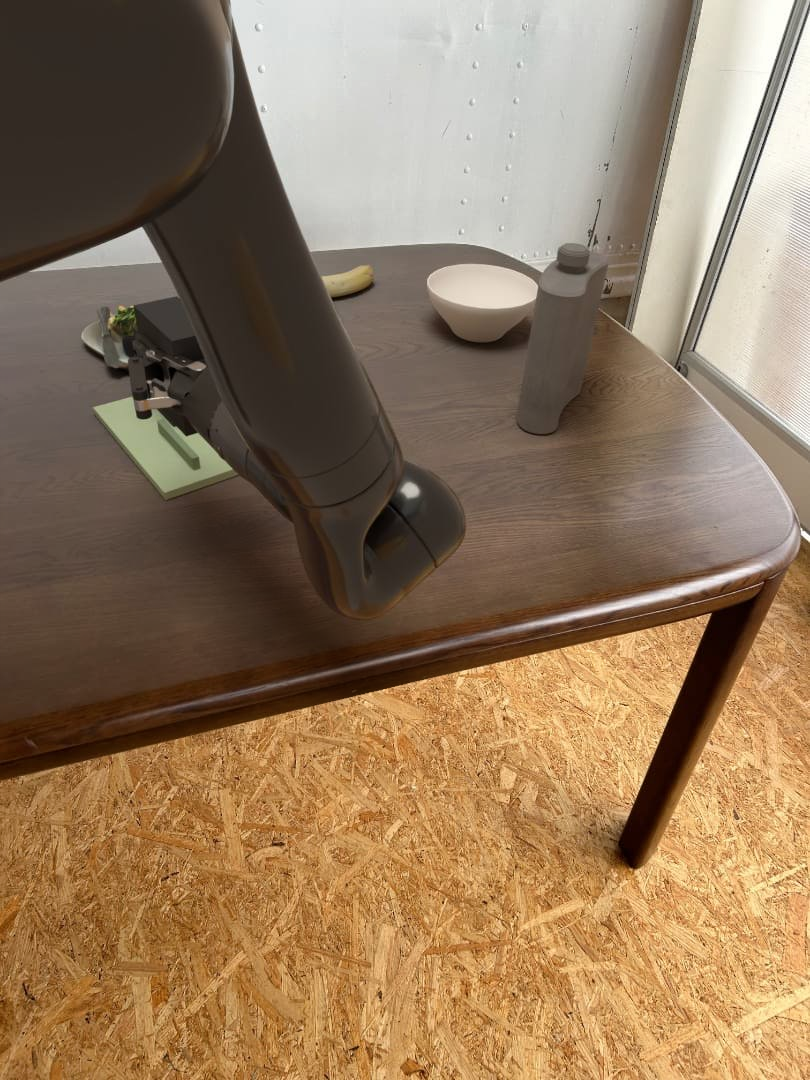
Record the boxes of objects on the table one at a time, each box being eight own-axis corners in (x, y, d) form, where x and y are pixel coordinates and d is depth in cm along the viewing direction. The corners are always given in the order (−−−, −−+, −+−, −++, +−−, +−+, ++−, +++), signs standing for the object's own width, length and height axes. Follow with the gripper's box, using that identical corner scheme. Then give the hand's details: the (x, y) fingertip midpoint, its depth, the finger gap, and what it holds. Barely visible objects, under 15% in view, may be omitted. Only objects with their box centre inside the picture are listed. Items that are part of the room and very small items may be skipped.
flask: (543, 375, 106) (570, 224, 93) (584, 386, 104) (618, 233, 91) (504, 426, 95) (530, 263, 82) (550, 439, 94) (583, 275, 81)
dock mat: (165, 500, 81) (150, 416, 74) (94, 414, 93) (76, 335, 86) (299, 453, 89) (296, 374, 82) (218, 379, 100) (209, 305, 94)
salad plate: (48, 336, 107) (40, 303, 104) (161, 301, 117) (157, 271, 114) (126, 389, 97) (119, 355, 94) (242, 346, 108) (239, 314, 105)
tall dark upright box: (186, 436, 68) (171, 341, 63) (149, 397, 73) (132, 305, 68) (227, 424, 70) (217, 330, 65) (189, 386, 75) (176, 295, 69)
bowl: (474, 367, 107) (480, 318, 102) (401, 323, 116) (403, 277, 111) (554, 338, 115) (563, 292, 110) (480, 300, 124) (485, 256, 119)
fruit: (385, 295, 124) (386, 275, 121) (292, 306, 118) (292, 285, 116) (368, 278, 129) (369, 258, 126) (279, 288, 123) (278, 268, 121)
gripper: (337, 356, 61) (234, 280, 71) (162, 406, 54) (75, 314, 64) (338, 439, 65) (241, 357, 76) (176, 494, 58) (94, 395, 69)
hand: (165, 338), depth 70 cm, fingers closed on tall dark upright box, 4 cm apart
